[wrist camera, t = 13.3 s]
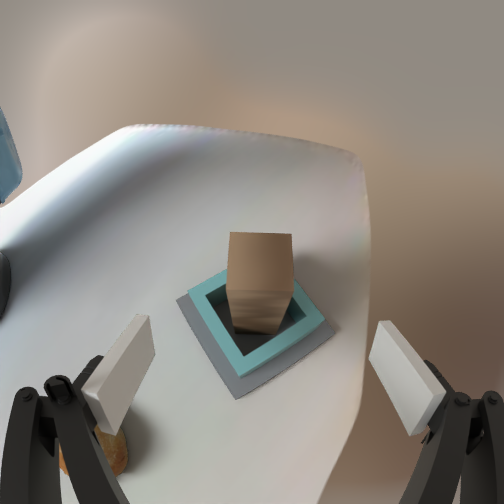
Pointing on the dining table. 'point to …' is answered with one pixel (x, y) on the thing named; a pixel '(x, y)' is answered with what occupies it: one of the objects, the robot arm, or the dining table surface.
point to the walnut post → (259, 281)
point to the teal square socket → (251, 346)
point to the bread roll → (108, 451)
